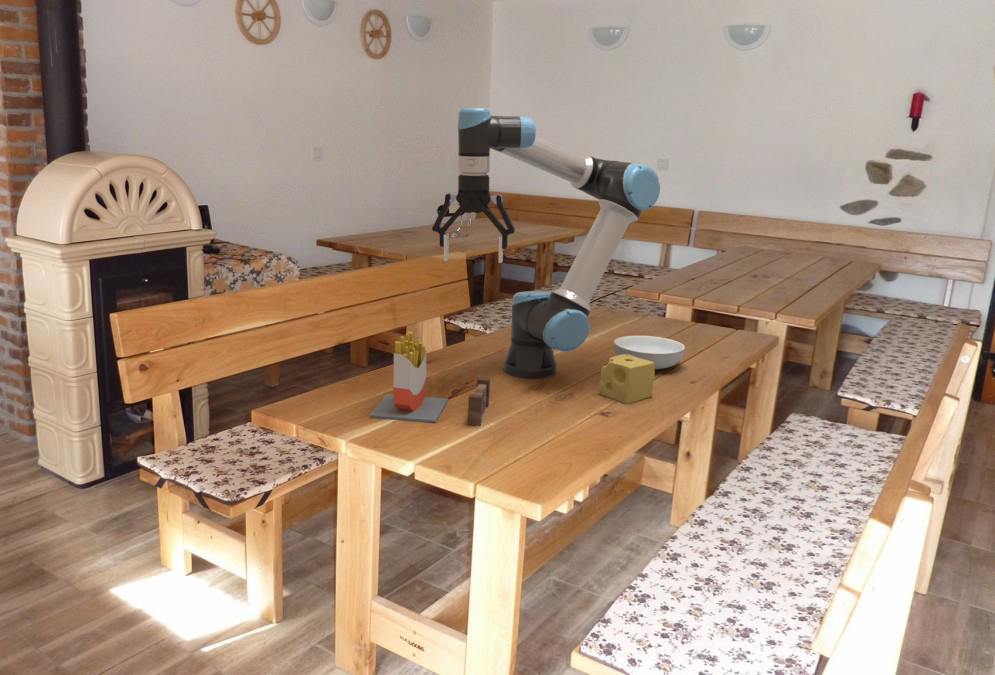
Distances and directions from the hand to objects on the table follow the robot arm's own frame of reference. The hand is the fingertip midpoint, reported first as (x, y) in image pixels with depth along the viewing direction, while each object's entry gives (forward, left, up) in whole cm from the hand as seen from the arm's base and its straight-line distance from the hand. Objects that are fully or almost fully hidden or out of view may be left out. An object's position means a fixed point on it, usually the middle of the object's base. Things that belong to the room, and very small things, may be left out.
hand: (473, 261), depth 206 cm
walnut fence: (+13, +4, -35) cm, 38 cm away
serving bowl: (-40, +47, -36) cm, 71 cm away
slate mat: (+13, -13, -35) cm, 40 cm away
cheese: (-10, +40, -36) cm, 55 cm away
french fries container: (+13, -12, -35) cm, 39 cm away
